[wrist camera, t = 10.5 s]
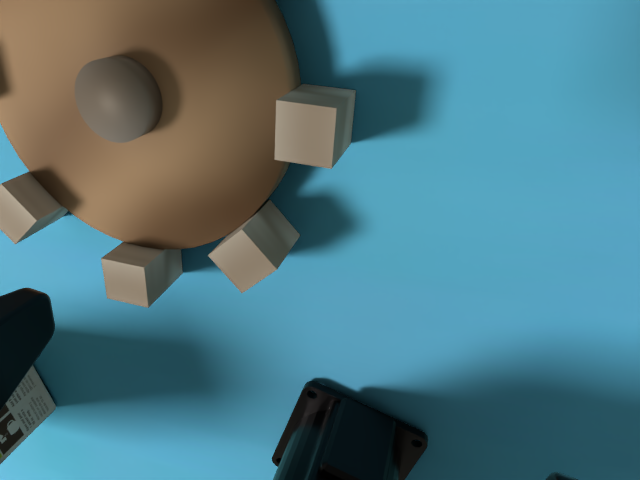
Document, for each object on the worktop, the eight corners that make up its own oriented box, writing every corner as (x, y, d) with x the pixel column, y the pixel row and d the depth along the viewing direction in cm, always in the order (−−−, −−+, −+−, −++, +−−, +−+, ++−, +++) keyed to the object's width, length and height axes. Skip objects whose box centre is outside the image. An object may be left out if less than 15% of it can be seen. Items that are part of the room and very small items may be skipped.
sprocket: (449, 130, 19) (444, 155, 16) (168, 328, 27) (135, 365, 24) (-42, -533, 14) (-157, -646, 12) (-200, -58, 22) (-288, -62, 20)
